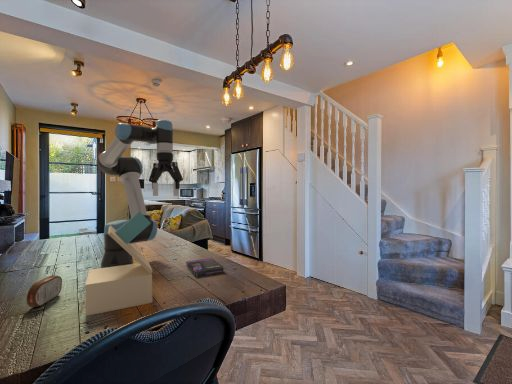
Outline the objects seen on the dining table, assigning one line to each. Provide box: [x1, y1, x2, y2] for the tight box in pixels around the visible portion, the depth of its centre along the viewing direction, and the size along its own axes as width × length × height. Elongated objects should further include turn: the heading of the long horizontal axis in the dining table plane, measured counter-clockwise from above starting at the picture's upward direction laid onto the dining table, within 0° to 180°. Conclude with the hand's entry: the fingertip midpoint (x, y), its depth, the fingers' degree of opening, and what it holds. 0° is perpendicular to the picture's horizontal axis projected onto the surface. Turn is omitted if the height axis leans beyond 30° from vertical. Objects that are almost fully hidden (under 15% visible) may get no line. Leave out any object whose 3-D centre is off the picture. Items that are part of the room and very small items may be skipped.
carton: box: [84, 262, 153, 317], centre depth 98 cm, size 20×18×10 cm
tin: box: [26, 274, 63, 308], centre depth 96 cm, size 15×3×8 cm, turn 5°
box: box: [185, 257, 225, 278], centre depth 133 cm, size 14×4×20 cm
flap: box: [108, 211, 154, 274], centre depth 101 cm, size 20×18×12 cm
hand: (165, 196), depth 131 cm, fingers open, 13 cm apart
